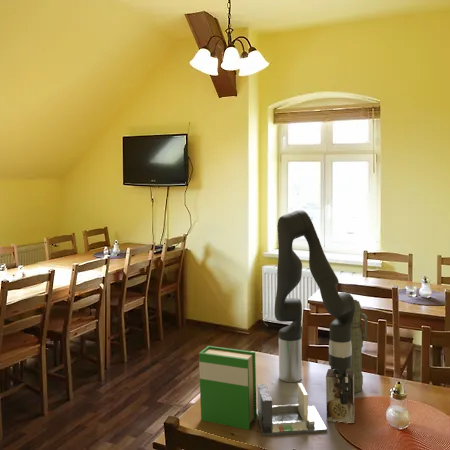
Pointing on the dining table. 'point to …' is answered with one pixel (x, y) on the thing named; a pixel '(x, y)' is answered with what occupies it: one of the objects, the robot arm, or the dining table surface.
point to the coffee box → (333, 399)
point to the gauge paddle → (303, 403)
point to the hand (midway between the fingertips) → (340, 398)
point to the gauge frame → (285, 417)
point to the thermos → (357, 346)
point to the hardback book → (228, 386)
